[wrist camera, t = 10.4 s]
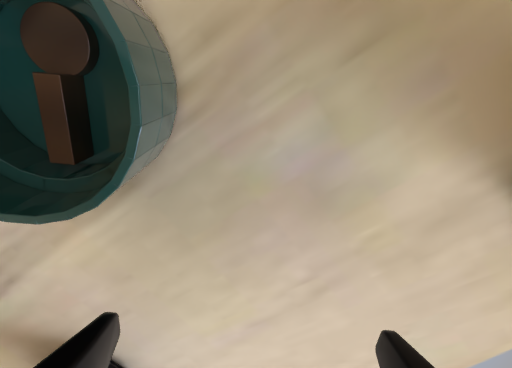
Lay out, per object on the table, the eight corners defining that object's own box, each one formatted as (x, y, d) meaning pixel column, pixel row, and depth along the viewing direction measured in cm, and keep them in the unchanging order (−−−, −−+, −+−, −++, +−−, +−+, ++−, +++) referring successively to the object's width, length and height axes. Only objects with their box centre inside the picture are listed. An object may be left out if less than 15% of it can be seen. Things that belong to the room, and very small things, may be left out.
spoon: (111, 157, 18) (93, 166, 16) (55, 152, 18) (30, 161, 16) (95, 9, 15) (70, -1, 13) (26, 2, 15) (-9, -10, 13)
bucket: (96, 211, 21) (31, 265, 15) (-69, 71, 17) (-248, 67, 11) (219, 100, 18) (202, 112, 12) (53, -99, 14) (-101, -235, 8)
